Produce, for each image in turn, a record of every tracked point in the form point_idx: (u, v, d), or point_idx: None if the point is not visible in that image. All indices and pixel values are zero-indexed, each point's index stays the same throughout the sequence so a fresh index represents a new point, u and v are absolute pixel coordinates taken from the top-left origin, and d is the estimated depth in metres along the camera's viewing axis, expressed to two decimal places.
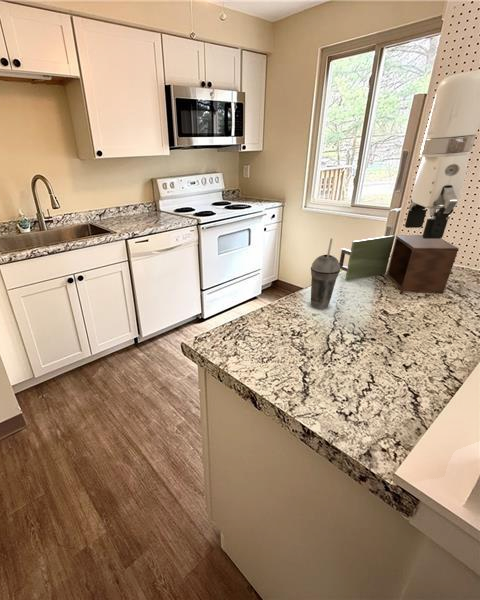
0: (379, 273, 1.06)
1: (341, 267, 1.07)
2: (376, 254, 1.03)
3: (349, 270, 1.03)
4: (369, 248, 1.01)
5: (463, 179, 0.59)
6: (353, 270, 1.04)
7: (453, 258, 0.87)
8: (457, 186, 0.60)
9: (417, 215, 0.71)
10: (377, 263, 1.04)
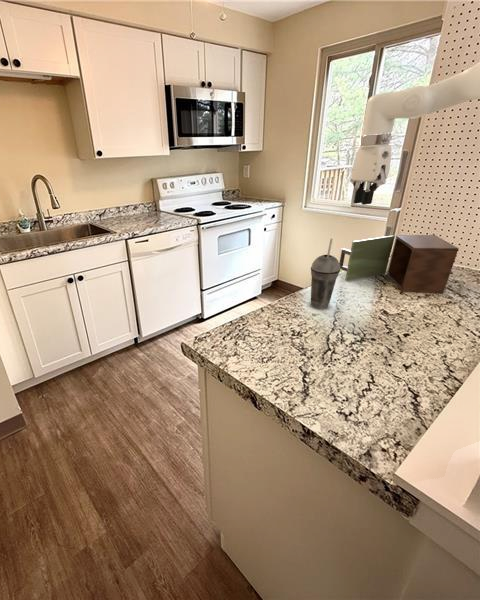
0: (379, 273, 1.06)
1: (341, 267, 1.07)
2: (376, 254, 1.03)
3: (349, 270, 1.03)
4: (369, 248, 1.01)
5: (390, 160, 0.92)
6: (353, 270, 1.04)
7: (453, 258, 0.87)
8: (388, 165, 0.93)
9: (361, 194, 1.02)
10: (377, 263, 1.04)
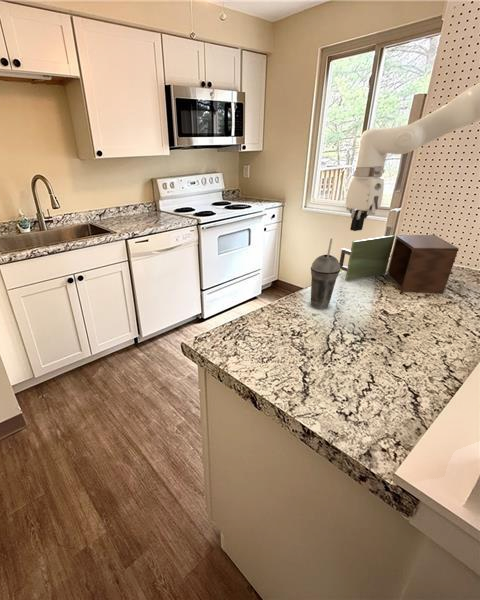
0: (379, 273, 1.06)
1: (341, 267, 1.07)
2: (376, 254, 1.03)
3: (349, 270, 1.03)
4: (369, 248, 1.01)
5: (382, 192, 0.96)
6: (353, 270, 1.04)
7: (453, 258, 0.87)
8: (380, 196, 0.97)
9: None
10: (377, 263, 1.04)
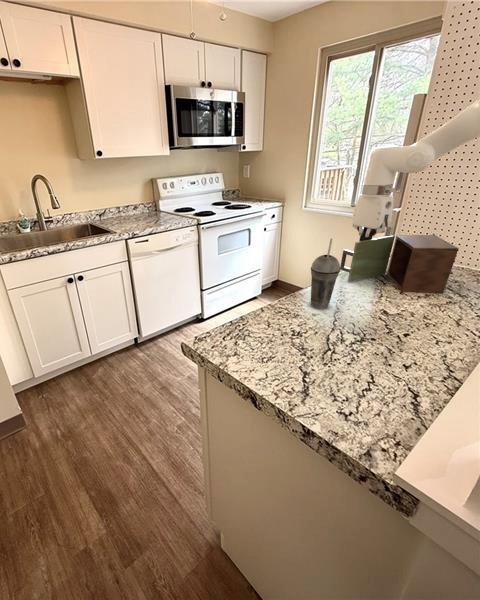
0: (380, 273, 1.06)
1: (343, 268, 1.06)
2: (377, 254, 1.02)
3: (352, 271, 1.02)
4: (371, 249, 1.01)
5: (392, 210, 0.95)
6: (356, 271, 1.03)
7: (453, 258, 0.87)
8: (390, 214, 0.95)
9: None
10: (378, 264, 1.04)
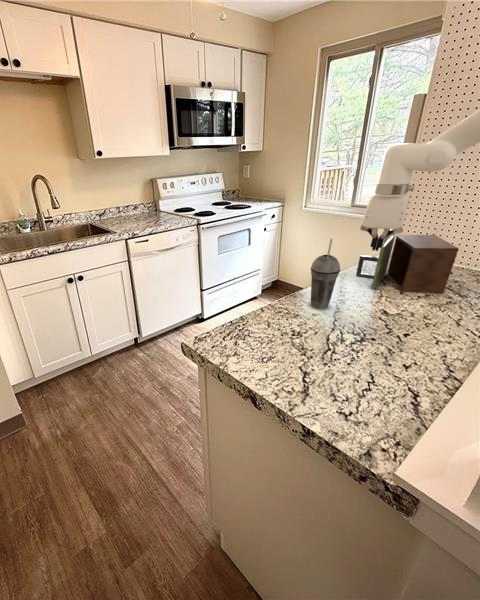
0: (384, 274, 1.05)
1: (361, 275, 1.00)
2: (387, 256, 1.00)
3: (377, 277, 0.96)
4: (386, 251, 0.97)
5: None
6: (378, 276, 0.97)
7: (453, 258, 0.87)
8: None
9: (377, 240, 0.98)
10: (385, 265, 1.02)
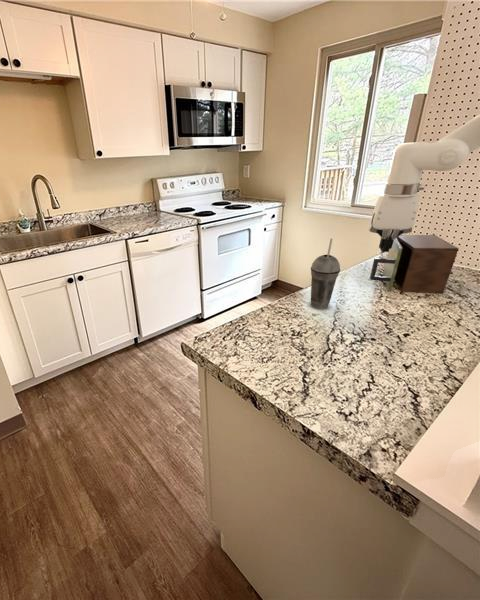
0: None
1: (376, 278, 0.97)
2: None
3: (393, 279, 0.94)
4: None
5: None
6: None
7: (453, 258, 0.87)
8: None
9: None
10: None
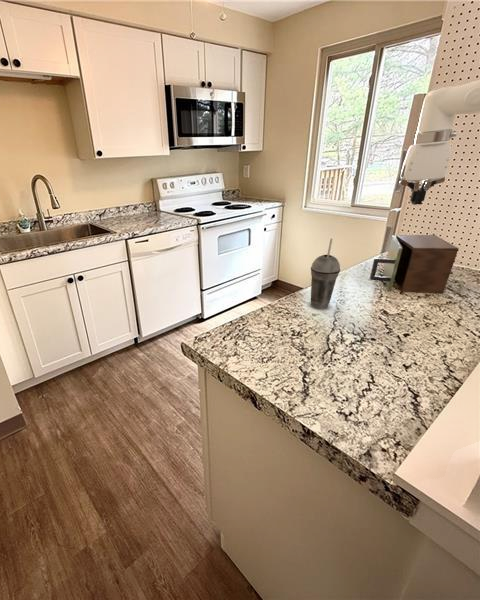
0: None
1: (376, 278, 0.97)
2: None
3: (393, 279, 0.94)
4: None
5: None
6: None
7: (453, 258, 0.87)
8: None
9: None
10: None
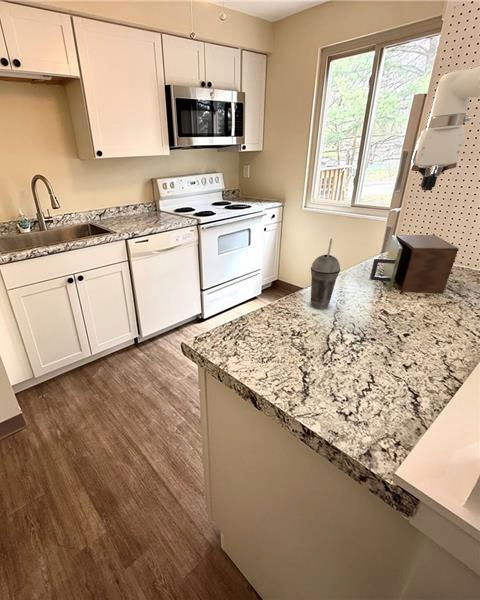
0: None
1: (376, 278, 0.97)
2: None
3: (393, 279, 0.94)
4: None
5: None
6: None
7: (453, 258, 0.87)
8: None
9: None
10: None
